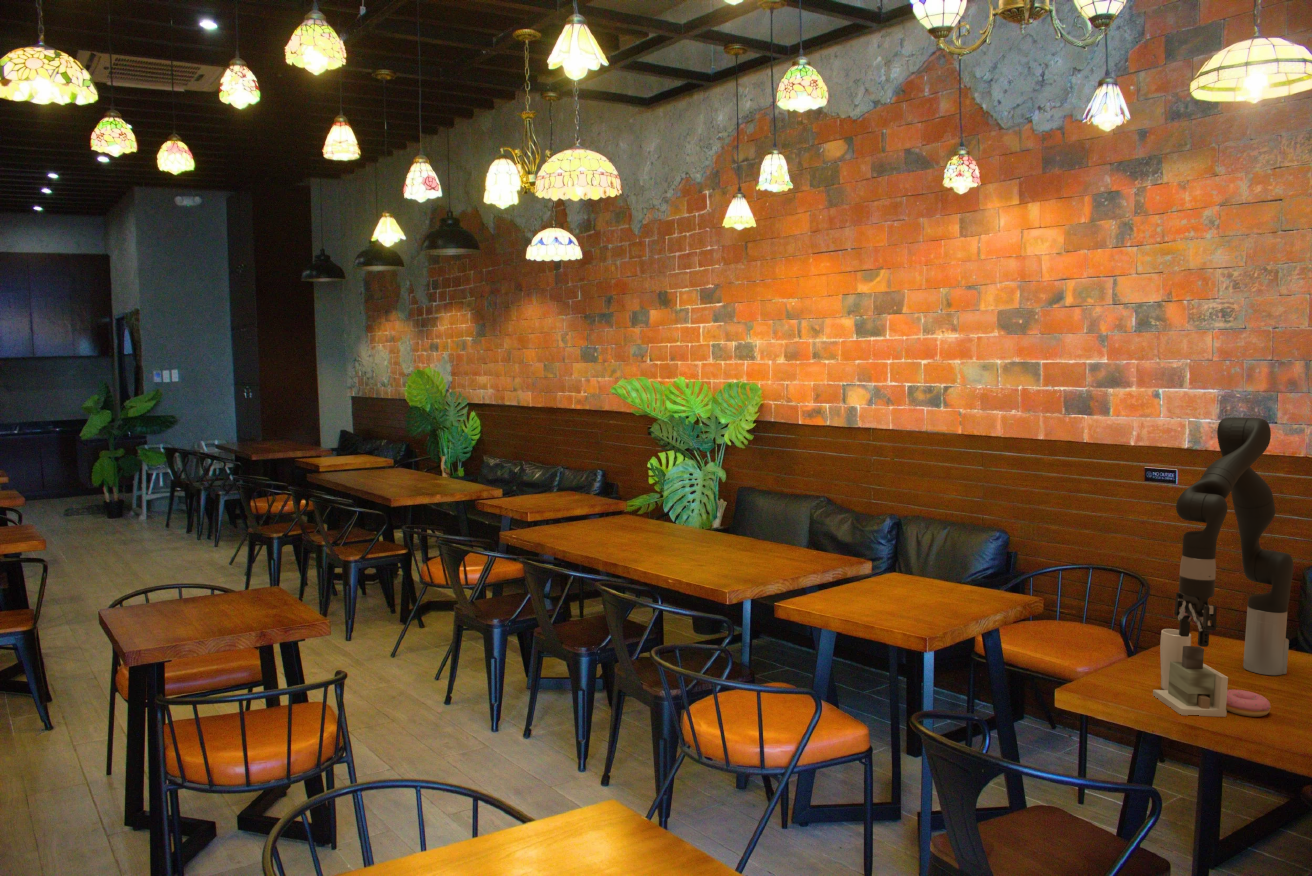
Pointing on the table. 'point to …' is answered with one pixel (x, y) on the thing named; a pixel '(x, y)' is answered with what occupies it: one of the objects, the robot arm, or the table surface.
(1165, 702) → the stand
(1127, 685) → the table surface
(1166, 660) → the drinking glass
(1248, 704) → the doughnut
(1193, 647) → the olive boxy piece
